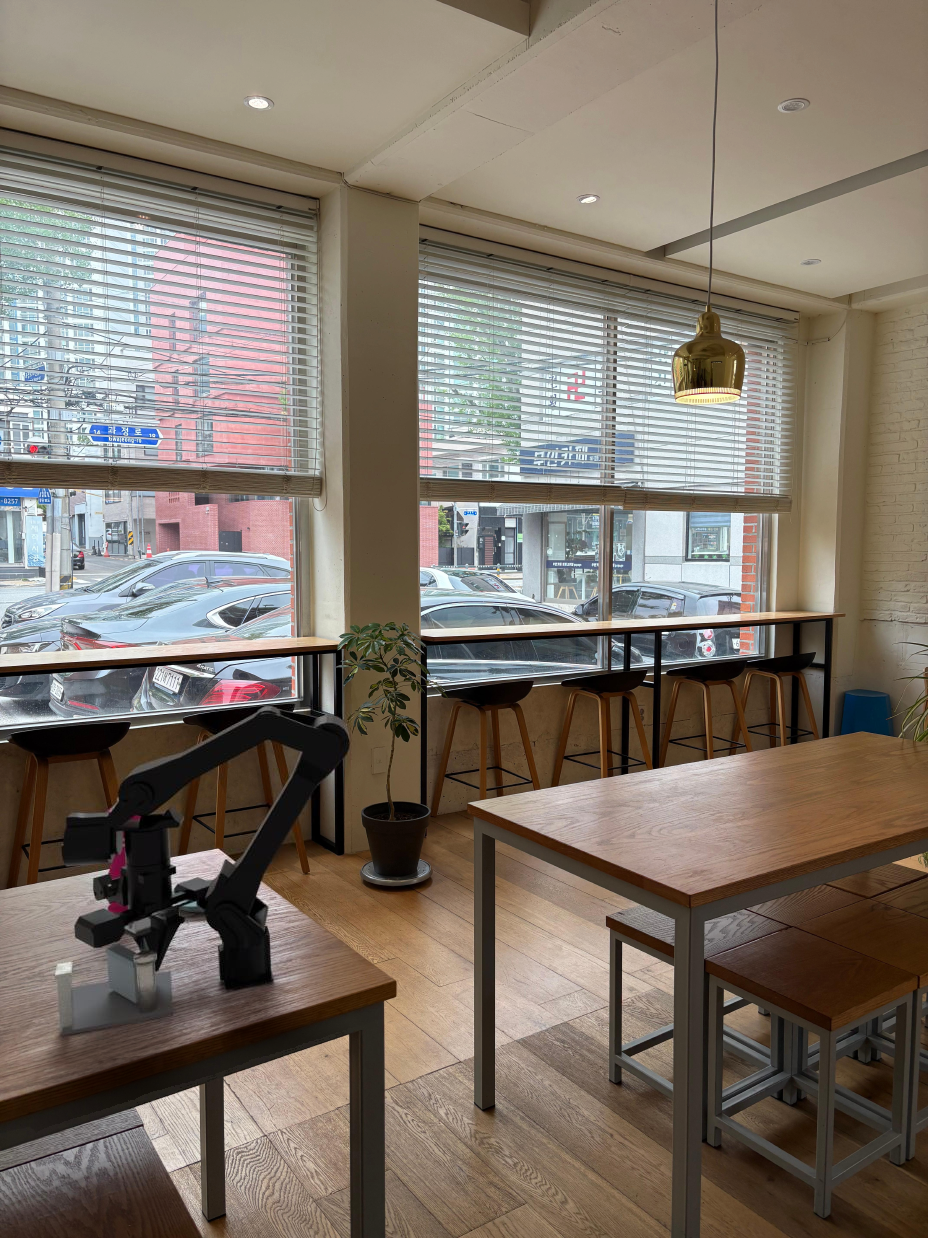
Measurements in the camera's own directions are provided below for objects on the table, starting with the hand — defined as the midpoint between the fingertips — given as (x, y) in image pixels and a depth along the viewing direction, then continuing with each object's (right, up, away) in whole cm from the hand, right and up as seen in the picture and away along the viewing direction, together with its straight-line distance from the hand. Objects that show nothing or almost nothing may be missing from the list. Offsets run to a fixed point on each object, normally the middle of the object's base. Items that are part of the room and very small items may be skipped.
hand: (153, 971), depth 122 cm
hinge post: (+2, -3, -7) cm, 8 cm away
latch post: (-7, -3, -10) cm, 13 cm away
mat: (-3, -2, -4) cm, 6 cm away
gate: (-2, -1, -4) cm, 5 cm away
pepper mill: (-13, -1, +25) cm, 28 cm away
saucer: (-1, 0, +29) cm, 29 cm away
